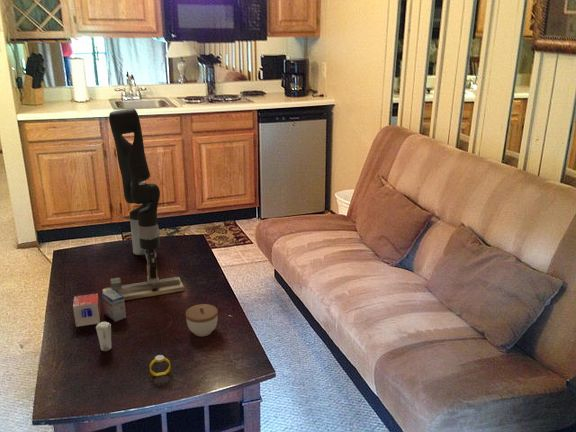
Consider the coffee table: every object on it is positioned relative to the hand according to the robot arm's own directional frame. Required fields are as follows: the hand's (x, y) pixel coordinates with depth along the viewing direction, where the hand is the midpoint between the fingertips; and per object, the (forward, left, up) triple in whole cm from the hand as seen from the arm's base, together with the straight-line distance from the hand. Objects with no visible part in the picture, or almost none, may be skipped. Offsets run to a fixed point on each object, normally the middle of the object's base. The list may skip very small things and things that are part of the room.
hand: (152, 275), depth 204 cm
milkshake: (+37, -20, -6) cm, 43 cm away
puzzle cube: (+15, -25, -6) cm, 30 cm away
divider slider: (0, 0, -4) cm, 4 cm away
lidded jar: (+38, +11, -6) cm, 40 cm away
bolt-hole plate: (0, -4, -6) cm, 7 cm away
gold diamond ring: (+57, -6, -6) cm, 58 cm away
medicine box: (+16, -16, -6) cm, 23 cm away
